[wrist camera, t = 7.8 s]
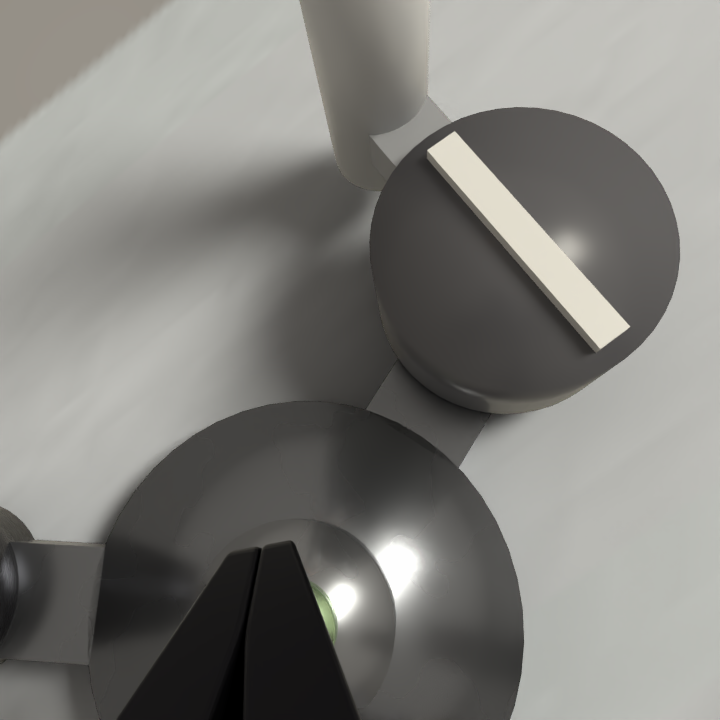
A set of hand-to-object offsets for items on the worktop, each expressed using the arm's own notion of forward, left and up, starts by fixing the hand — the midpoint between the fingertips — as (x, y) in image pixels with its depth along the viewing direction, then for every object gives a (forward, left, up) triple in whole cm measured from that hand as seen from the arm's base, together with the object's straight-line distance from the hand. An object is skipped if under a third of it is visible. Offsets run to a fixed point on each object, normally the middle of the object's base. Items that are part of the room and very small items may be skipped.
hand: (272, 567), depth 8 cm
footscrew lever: (+8, +2, -6) cm, 10 cm away
